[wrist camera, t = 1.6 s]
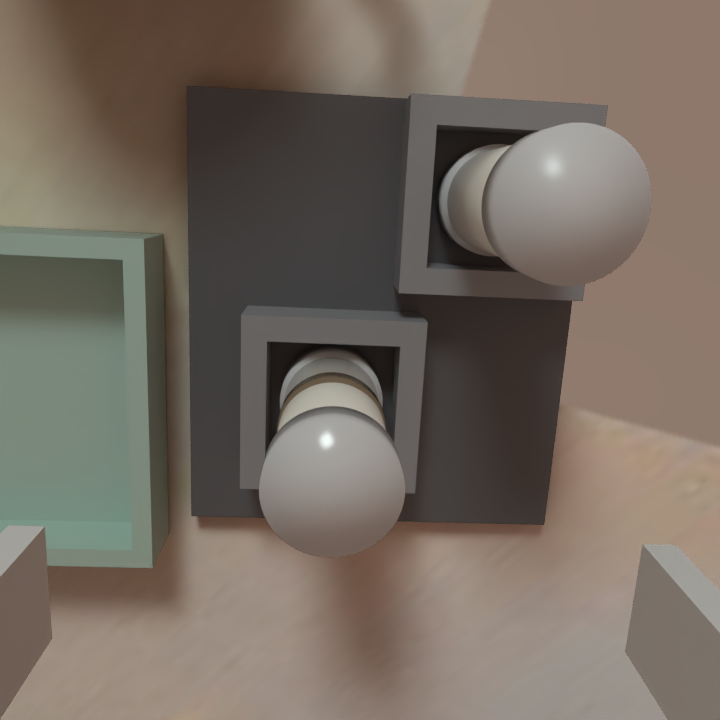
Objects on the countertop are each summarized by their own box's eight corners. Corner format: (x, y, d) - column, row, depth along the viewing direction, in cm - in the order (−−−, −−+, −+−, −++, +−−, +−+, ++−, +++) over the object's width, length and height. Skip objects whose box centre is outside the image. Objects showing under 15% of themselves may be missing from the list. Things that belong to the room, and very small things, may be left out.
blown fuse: (281, 436, 30) (257, 555, 20) (283, 342, 29) (260, 420, 19) (377, 439, 30) (400, 559, 20) (382, 346, 29) (409, 424, 19)
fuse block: (195, 507, 31) (126, 668, 21) (190, 88, 27) (102, 24, 16) (539, 516, 32) (640, 675, 22) (588, 112, 28) (746, 64, 17)
